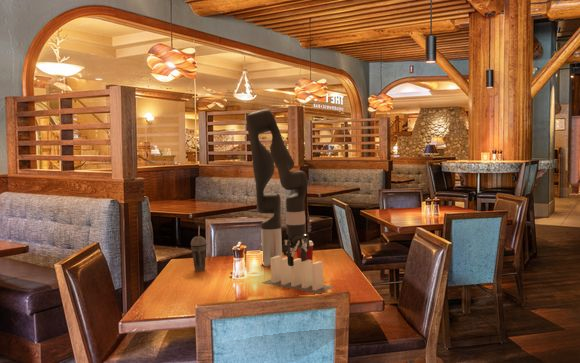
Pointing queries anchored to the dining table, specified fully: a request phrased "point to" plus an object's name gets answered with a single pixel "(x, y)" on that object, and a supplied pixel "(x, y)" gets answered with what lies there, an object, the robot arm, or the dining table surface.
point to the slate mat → (299, 287)
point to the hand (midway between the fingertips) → (297, 263)
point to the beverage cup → (199, 252)
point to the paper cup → (309, 251)
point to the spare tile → (296, 272)
